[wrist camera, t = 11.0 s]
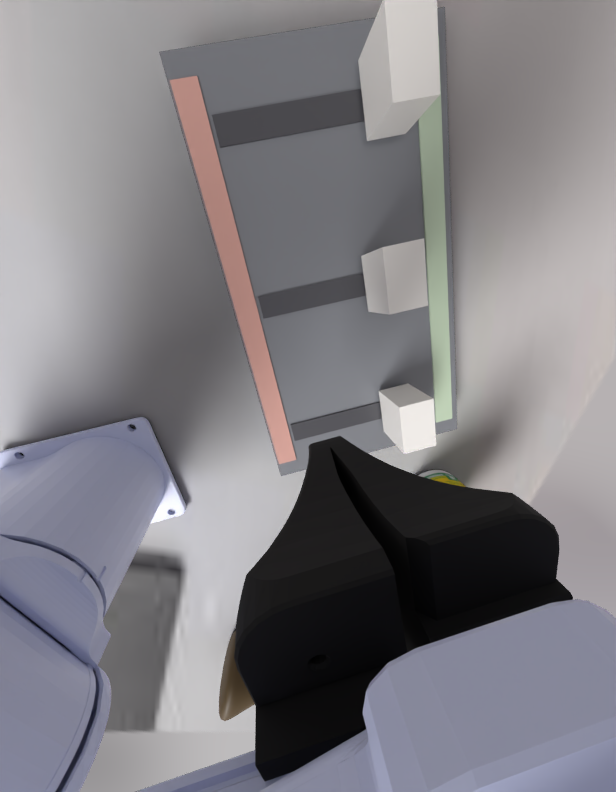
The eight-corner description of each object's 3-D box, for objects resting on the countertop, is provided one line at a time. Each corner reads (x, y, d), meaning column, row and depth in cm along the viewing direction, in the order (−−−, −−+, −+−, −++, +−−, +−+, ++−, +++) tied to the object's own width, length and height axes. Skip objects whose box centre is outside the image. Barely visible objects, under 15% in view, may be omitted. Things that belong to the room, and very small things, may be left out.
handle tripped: (366, 140, 14) (392, 103, 11) (358, 60, 13) (384, -3, 10) (405, 133, 14) (440, 94, 12) (399, 53, 13) (436, -12, 11)
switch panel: (279, 460, 22) (281, 476, 20) (172, 84, 14) (158, 50, 12) (441, 418, 23) (458, 429, 21) (422, 42, 15) (446, 4, 13)
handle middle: (368, 311, 17) (389, 314, 14) (361, 256, 16) (382, 247, 13) (400, 304, 17) (428, 305, 14) (395, 248, 16) (424, 238, 13)
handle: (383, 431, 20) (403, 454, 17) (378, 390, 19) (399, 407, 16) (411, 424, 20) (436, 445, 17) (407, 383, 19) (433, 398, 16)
